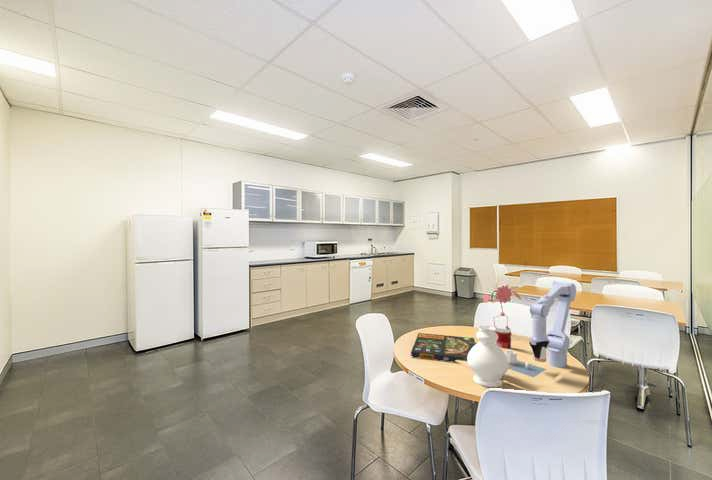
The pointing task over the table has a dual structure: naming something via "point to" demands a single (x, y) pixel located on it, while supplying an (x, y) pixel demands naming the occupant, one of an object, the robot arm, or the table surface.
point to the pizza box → (442, 347)
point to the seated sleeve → (511, 357)
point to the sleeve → (542, 356)
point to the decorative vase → (487, 358)
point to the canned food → (504, 338)
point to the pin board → (527, 372)
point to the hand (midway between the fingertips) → (539, 356)
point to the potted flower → (502, 299)
